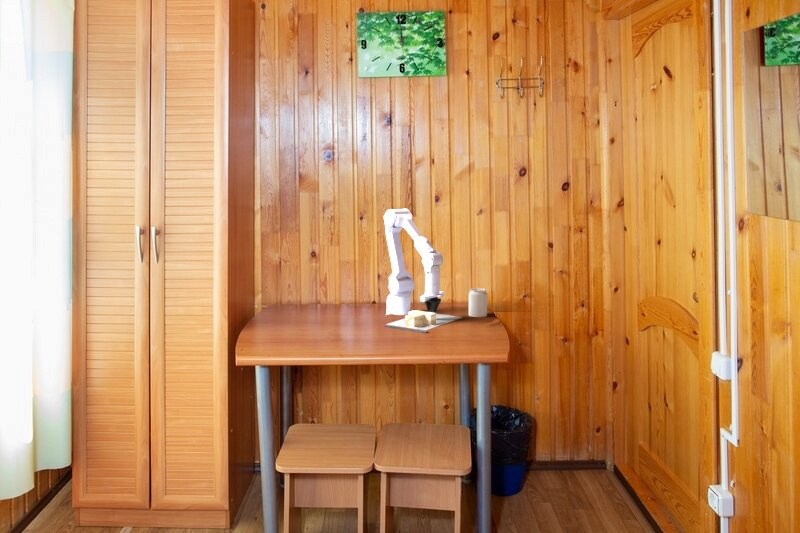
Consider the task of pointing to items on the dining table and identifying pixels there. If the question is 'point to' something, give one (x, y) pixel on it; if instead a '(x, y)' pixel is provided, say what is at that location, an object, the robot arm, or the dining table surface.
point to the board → (440, 320)
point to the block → (419, 318)
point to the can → (478, 302)
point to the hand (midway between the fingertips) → (432, 316)
